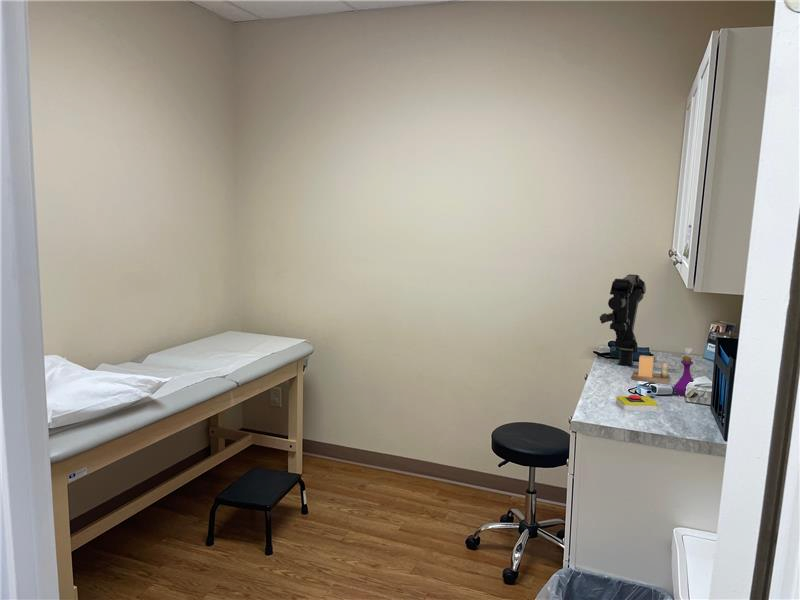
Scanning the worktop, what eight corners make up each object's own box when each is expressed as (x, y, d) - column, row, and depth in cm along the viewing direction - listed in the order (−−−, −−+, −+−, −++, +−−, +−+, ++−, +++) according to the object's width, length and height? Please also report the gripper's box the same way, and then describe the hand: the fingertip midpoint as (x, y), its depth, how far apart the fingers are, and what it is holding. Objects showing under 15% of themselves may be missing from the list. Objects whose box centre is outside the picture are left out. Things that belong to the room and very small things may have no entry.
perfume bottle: (694, 399, 207) (698, 350, 205) (672, 396, 211) (675, 348, 209) (698, 395, 213) (702, 347, 211) (676, 391, 217) (679, 345, 215)
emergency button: (611, 392, 202) (654, 392, 201) (610, 404, 202) (653, 405, 202) (620, 399, 192) (665, 400, 192) (620, 412, 193) (665, 413, 193)
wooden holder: (633, 374, 243) (634, 357, 242) (669, 378, 237) (671, 360, 236) (631, 379, 234) (632, 361, 234) (668, 384, 228) (670, 365, 227)
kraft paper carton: (639, 372, 240) (640, 355, 239) (652, 374, 238) (653, 356, 237) (638, 375, 235) (639, 357, 234) (652, 377, 233) (653, 358, 232)
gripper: (604, 304, 259) (602, 338, 261) (598, 308, 243) (596, 345, 245) (630, 305, 254) (628, 340, 256) (626, 310, 238) (624, 347, 240)
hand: (618, 343), depth 249 cm, fingers closed
